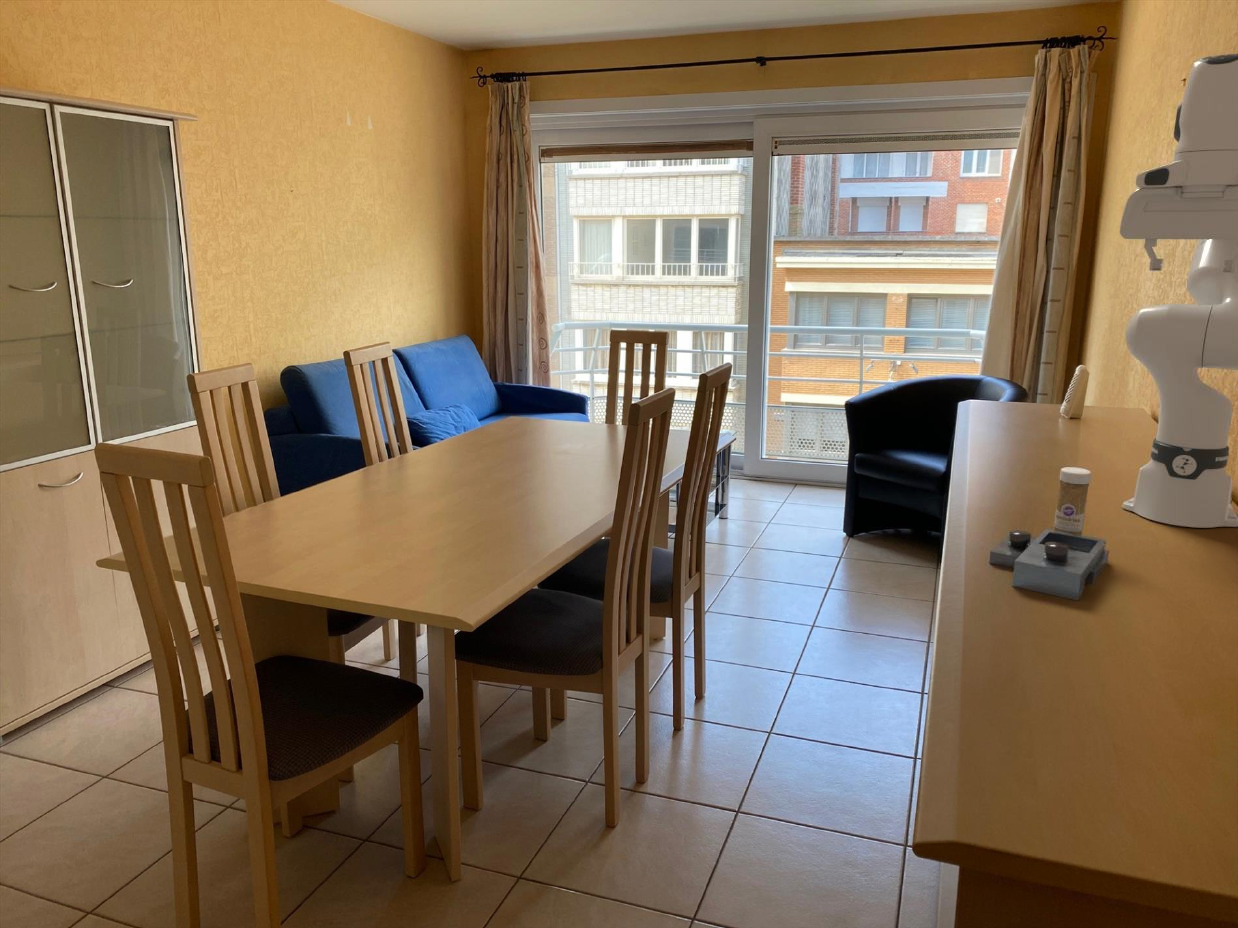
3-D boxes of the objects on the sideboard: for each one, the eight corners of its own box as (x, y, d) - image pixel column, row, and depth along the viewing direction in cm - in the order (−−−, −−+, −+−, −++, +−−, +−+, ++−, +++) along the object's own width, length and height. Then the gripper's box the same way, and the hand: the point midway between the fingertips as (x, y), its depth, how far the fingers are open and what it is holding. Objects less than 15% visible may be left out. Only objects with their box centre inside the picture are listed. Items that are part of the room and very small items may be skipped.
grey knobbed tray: (1009, 543, 155) (1012, 521, 154) (1107, 562, 146) (1111, 538, 145) (989, 563, 145) (991, 539, 144) (1092, 584, 136) (1096, 559, 135)
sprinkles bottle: (1051, 549, 152) (1061, 471, 148) (1050, 541, 156) (1059, 465, 152) (1082, 552, 150) (1093, 474, 147) (1079, 544, 154) (1090, 467, 151)
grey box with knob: (1042, 551, 151) (1047, 517, 149) (1102, 563, 145) (1108, 527, 144) (1011, 585, 136) (1016, 548, 134) (1077, 600, 131) (1082, 561, 129)
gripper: (1295, 172, 128) (1277, 272, 131) (1131, 177, 140) (1119, 269, 143) (1294, 170, 123) (1276, 274, 126) (1124, 175, 135) (1112, 270, 138)
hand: (1191, 271), depth 135 cm, fingers open, 8 cm apart
